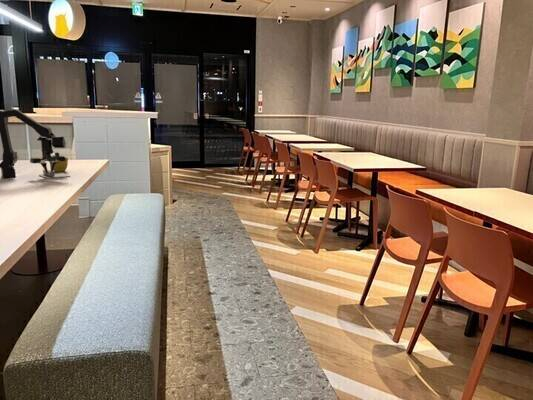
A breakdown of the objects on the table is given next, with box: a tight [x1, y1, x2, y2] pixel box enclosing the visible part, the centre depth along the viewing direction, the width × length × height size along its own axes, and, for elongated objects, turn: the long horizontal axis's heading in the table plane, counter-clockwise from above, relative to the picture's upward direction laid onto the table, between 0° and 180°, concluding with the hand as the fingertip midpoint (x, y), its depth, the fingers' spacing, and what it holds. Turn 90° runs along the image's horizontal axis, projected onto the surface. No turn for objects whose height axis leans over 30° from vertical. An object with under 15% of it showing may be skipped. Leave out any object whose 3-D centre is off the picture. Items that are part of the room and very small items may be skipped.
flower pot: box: [53, 156, 69, 173], centre depth 285 cm, size 9×9×9 cm
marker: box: [42, 169, 55, 176], centre depth 267 cm, size 2×12×2 cm, turn 45°
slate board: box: [38, 172, 71, 180], centre depth 268 cm, size 13×15×1 cm
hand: (49, 173), depth 266 cm, fingers closed on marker, 2 cm apart
